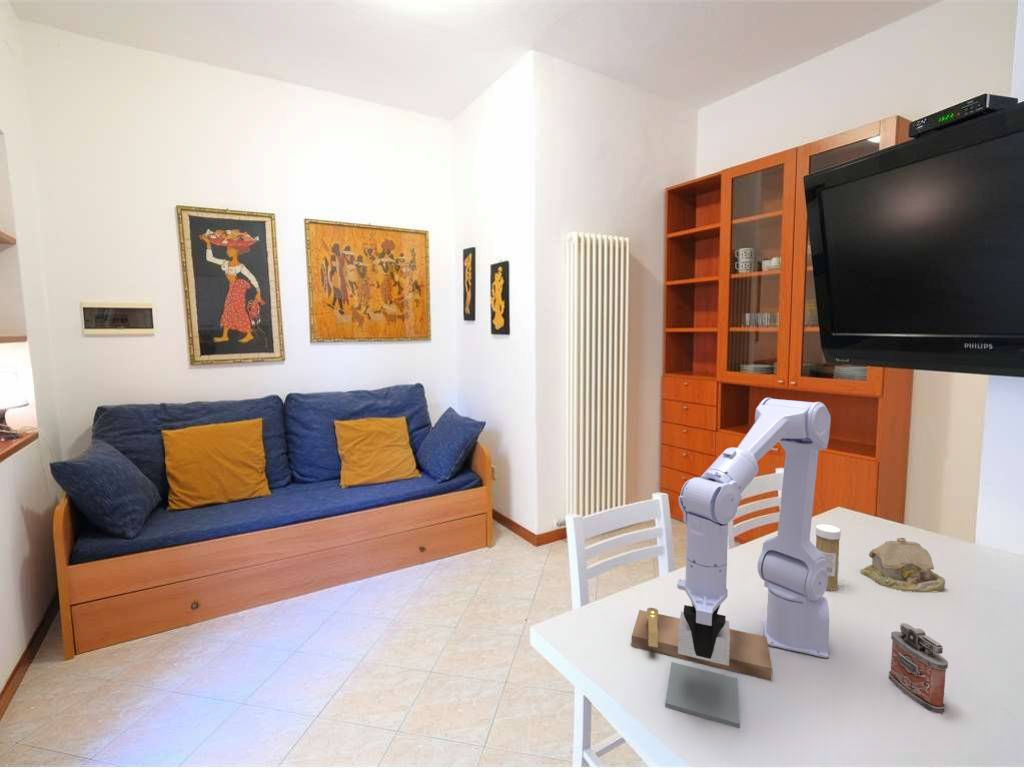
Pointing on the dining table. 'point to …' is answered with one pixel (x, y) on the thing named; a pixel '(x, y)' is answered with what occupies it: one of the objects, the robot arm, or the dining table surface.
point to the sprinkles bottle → (829, 551)
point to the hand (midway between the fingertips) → (703, 644)
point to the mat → (703, 694)
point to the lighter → (918, 667)
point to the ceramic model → (903, 567)
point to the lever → (652, 627)
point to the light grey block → (720, 647)
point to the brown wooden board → (744, 658)
